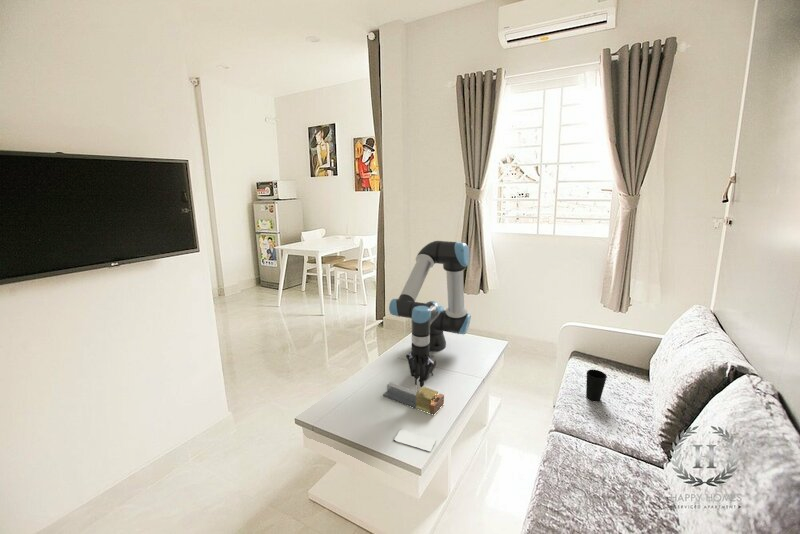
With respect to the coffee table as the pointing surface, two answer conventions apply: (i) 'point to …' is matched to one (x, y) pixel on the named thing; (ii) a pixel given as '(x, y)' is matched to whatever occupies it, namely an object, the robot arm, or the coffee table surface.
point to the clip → (425, 398)
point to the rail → (411, 397)
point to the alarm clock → (432, 365)
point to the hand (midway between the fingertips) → (419, 391)
